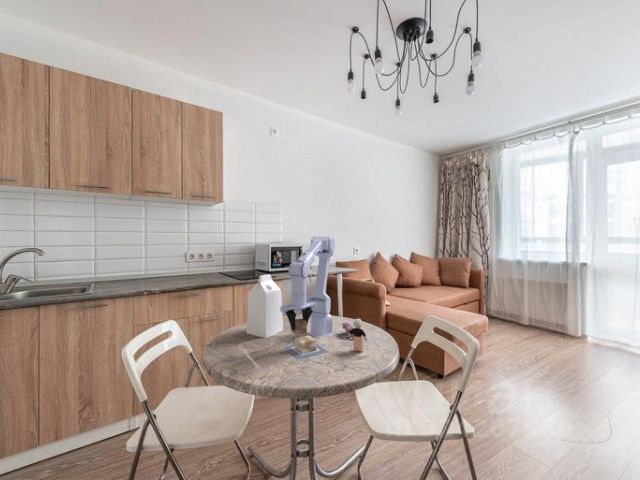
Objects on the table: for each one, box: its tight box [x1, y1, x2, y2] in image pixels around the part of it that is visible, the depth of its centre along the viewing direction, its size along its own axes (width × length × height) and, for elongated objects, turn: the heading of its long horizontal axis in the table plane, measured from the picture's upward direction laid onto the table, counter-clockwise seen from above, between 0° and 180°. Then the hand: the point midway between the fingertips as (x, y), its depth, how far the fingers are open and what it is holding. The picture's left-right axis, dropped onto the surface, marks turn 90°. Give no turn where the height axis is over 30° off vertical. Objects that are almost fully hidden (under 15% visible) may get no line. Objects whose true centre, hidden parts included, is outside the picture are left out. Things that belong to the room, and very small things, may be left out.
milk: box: [246, 274, 284, 339], centre depth 132 cm, size 12×12×26 cm
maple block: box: [294, 334, 317, 354], centre depth 111 cm, size 6×6×4 cm
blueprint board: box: [283, 343, 329, 360], centre depth 111 cm, size 13×13×1 cm
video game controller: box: [342, 321, 354, 339], centre depth 127 cm, size 10×5×7 cm, turn 5°
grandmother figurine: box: [347, 318, 368, 353], centre depth 110 cm, size 8×4×13 cm, turn 71°
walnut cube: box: [290, 317, 308, 336], centre depth 111 cm, size 4×4×4 cm
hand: (298, 328), depth 111 cm, fingers closed on walnut cube, 4 cm apart
